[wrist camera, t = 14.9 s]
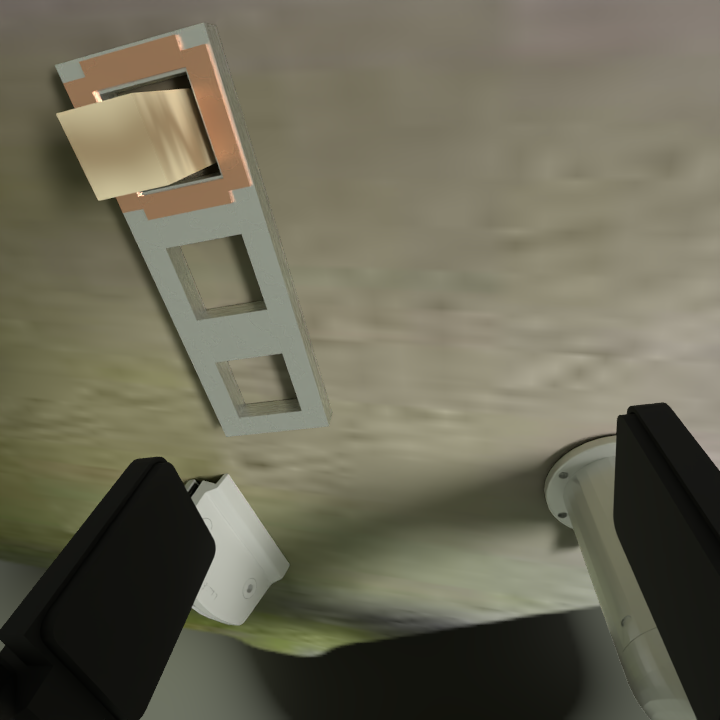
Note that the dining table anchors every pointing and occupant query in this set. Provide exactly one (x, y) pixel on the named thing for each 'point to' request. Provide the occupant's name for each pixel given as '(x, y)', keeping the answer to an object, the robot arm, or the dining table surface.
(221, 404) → the rail
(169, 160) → the peg
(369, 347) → the dining table surface
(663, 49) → the dining table surface
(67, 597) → the robot arm
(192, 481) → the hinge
